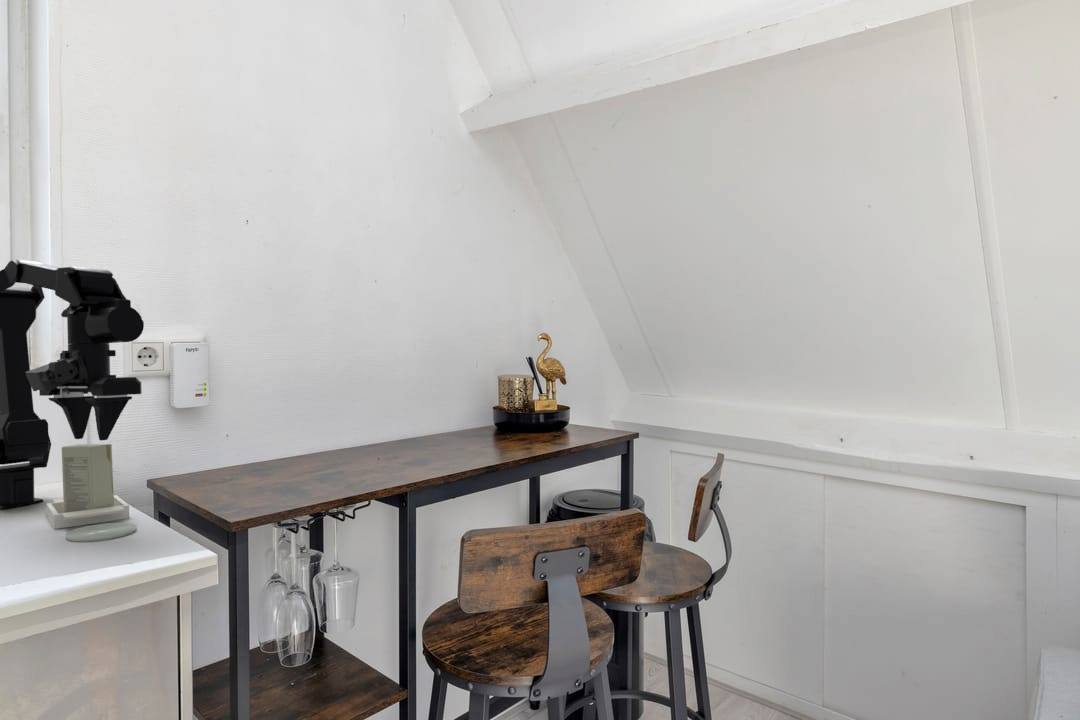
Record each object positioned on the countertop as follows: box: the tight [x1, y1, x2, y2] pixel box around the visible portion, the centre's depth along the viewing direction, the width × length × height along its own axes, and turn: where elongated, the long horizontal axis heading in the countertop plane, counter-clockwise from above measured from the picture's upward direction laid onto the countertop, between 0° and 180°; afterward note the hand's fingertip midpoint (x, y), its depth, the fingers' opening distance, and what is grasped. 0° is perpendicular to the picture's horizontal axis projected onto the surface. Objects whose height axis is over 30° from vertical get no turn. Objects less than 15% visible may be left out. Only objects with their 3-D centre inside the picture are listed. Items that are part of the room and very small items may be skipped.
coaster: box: [65, 522, 137, 543], centre depth 104 cm, size 9×9×1 cm
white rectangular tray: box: [45, 494, 130, 530], centre depth 115 cm, size 18×10×2 cm, turn 41°
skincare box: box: [61, 443, 115, 513], centre depth 115 cm, size 6×4×12 cm
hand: (90, 439), depth 112 cm, fingers open, 6 cm apart
